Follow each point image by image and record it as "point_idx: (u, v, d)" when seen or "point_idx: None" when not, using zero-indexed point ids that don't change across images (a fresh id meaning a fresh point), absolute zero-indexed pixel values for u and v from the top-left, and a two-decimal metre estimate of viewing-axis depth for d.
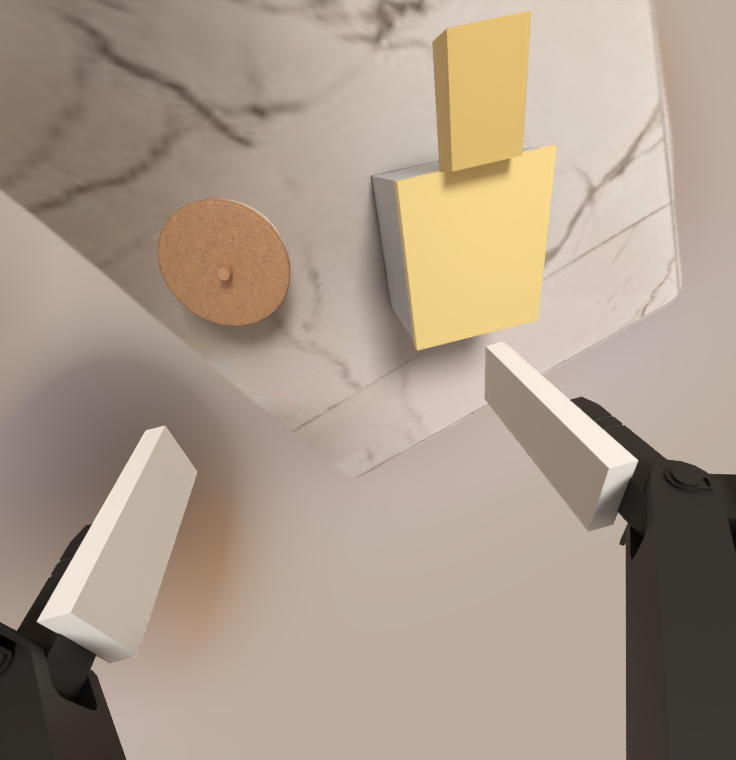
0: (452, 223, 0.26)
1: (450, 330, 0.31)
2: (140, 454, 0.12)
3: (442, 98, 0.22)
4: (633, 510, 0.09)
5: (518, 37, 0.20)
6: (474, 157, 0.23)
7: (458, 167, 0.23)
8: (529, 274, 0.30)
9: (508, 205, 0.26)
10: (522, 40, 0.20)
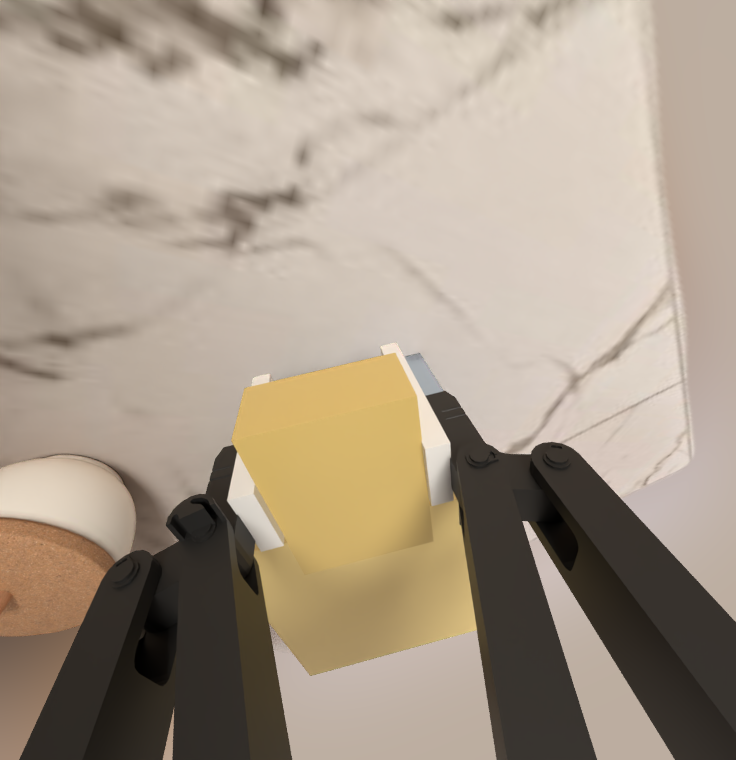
0: (334, 579, 0.16)
1: (358, 654, 0.21)
2: None
3: None
4: (456, 494, 0.10)
5: (396, 430, 0.10)
6: (343, 557, 0.12)
7: (315, 570, 0.13)
8: None
9: (426, 550, 0.16)
10: (406, 431, 0.10)
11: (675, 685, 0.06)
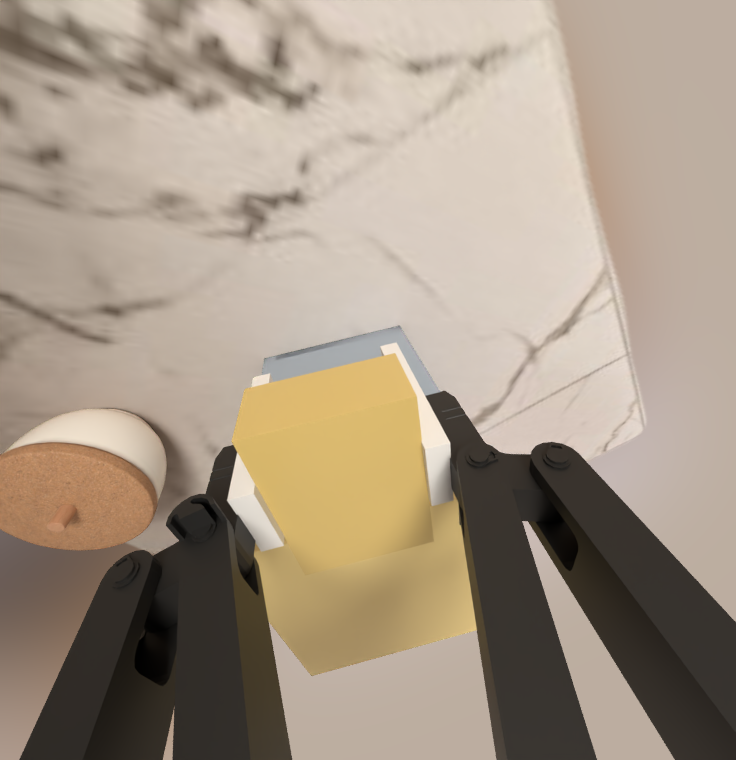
0: (335, 579, 0.16)
1: (359, 654, 0.21)
2: None
3: None
4: (456, 494, 0.10)
5: (395, 430, 0.10)
6: (344, 557, 0.12)
7: (315, 570, 0.13)
8: None
9: (426, 551, 0.16)
10: (406, 432, 0.10)
11: (675, 685, 0.06)
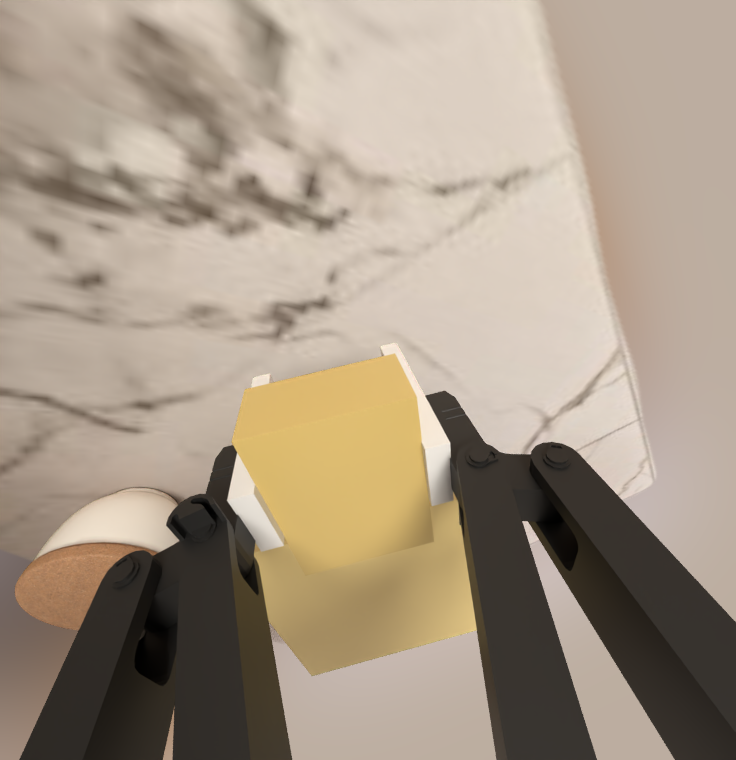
0: (335, 579, 0.16)
1: (359, 654, 0.21)
2: None
3: None
4: (456, 494, 0.10)
5: (396, 430, 0.10)
6: (344, 557, 0.12)
7: (316, 570, 0.13)
8: None
9: (427, 551, 0.16)
10: (406, 432, 0.10)
11: (675, 685, 0.06)
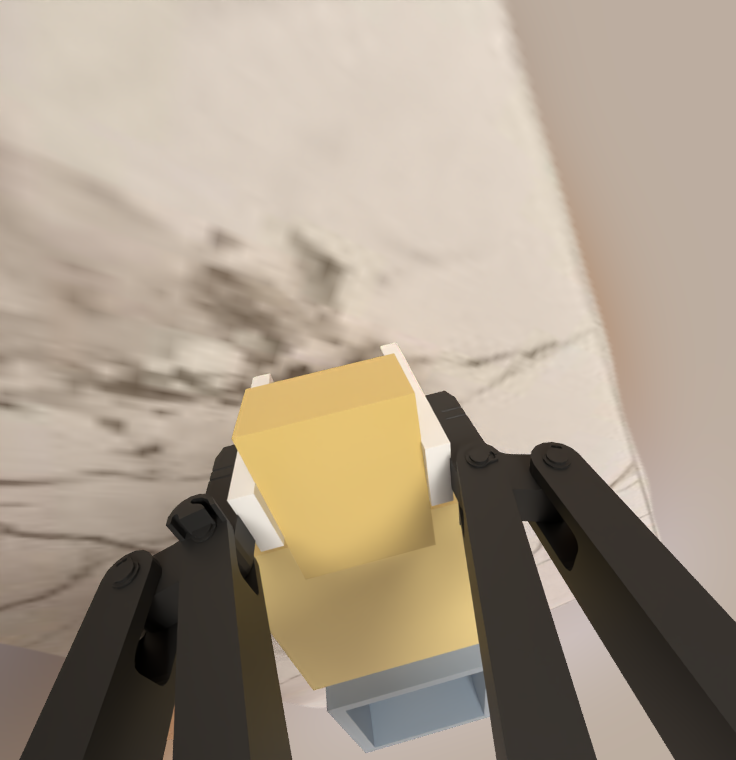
0: (336, 586, 0.16)
1: (362, 667, 0.20)
2: None
3: None
4: (456, 494, 0.10)
5: (394, 427, 0.10)
6: (344, 560, 0.12)
7: (316, 574, 0.12)
8: None
9: (429, 556, 0.16)
10: (405, 429, 0.10)
11: (675, 685, 0.06)
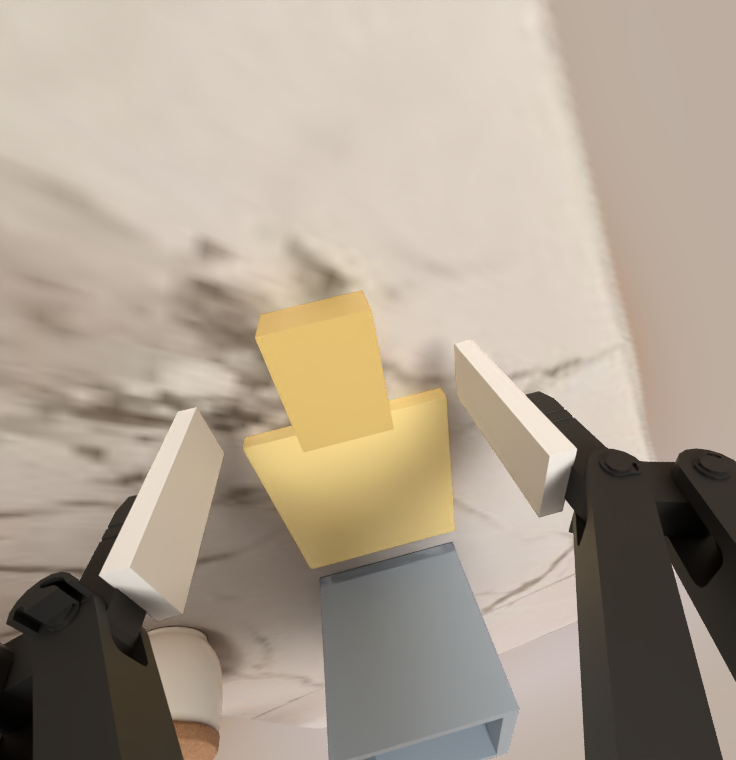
0: (326, 472, 0.21)
1: (348, 550, 0.27)
2: (175, 432, 0.12)
3: None
4: (576, 499, 0.09)
5: (359, 334, 0.15)
6: (330, 438, 0.18)
7: (310, 448, 0.18)
8: (435, 499, 0.25)
9: (394, 451, 0.21)
10: (366, 336, 0.15)
11: None
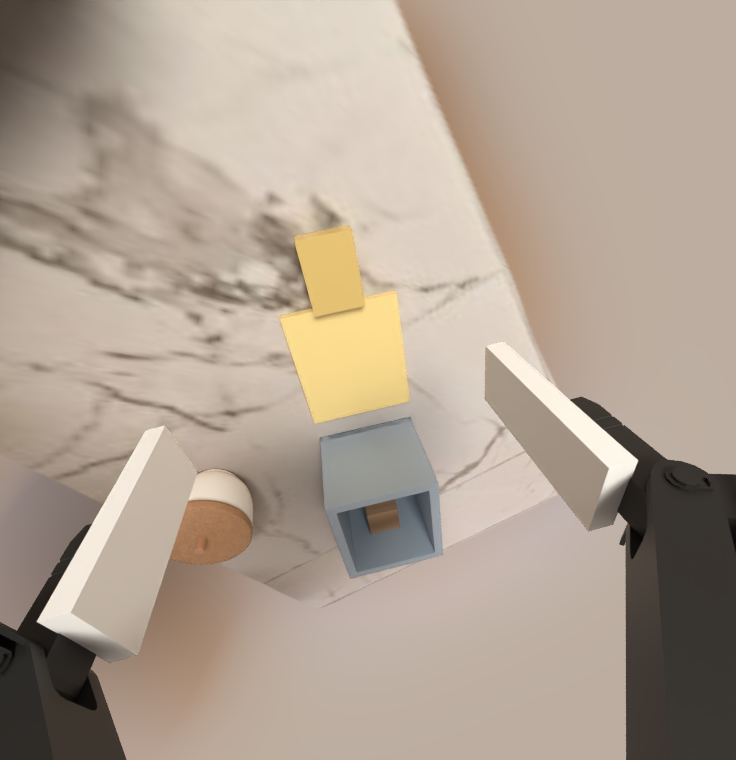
0: (326, 342, 0.36)
1: (339, 409, 0.41)
2: (140, 453, 0.12)
3: None
4: (633, 510, 0.09)
5: (346, 243, 0.29)
6: (329, 308, 0.32)
7: (318, 314, 0.33)
8: (395, 371, 0.39)
9: (367, 330, 0.36)
10: (349, 244, 0.30)
11: None
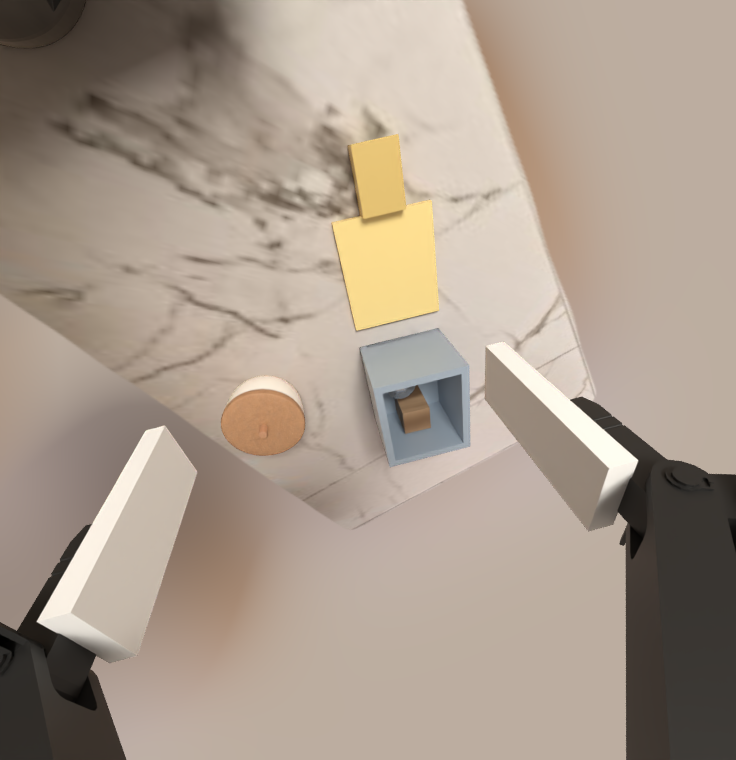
0: (370, 247, 0.42)
1: (378, 316, 0.47)
2: (140, 454, 0.12)
3: (354, 177, 0.37)
4: (633, 510, 0.09)
5: (392, 147, 0.35)
6: (376, 211, 0.38)
7: (367, 216, 0.38)
8: (427, 279, 0.45)
9: (405, 236, 0.42)
10: (395, 148, 0.35)
11: None
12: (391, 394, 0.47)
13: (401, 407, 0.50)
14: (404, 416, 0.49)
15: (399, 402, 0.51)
